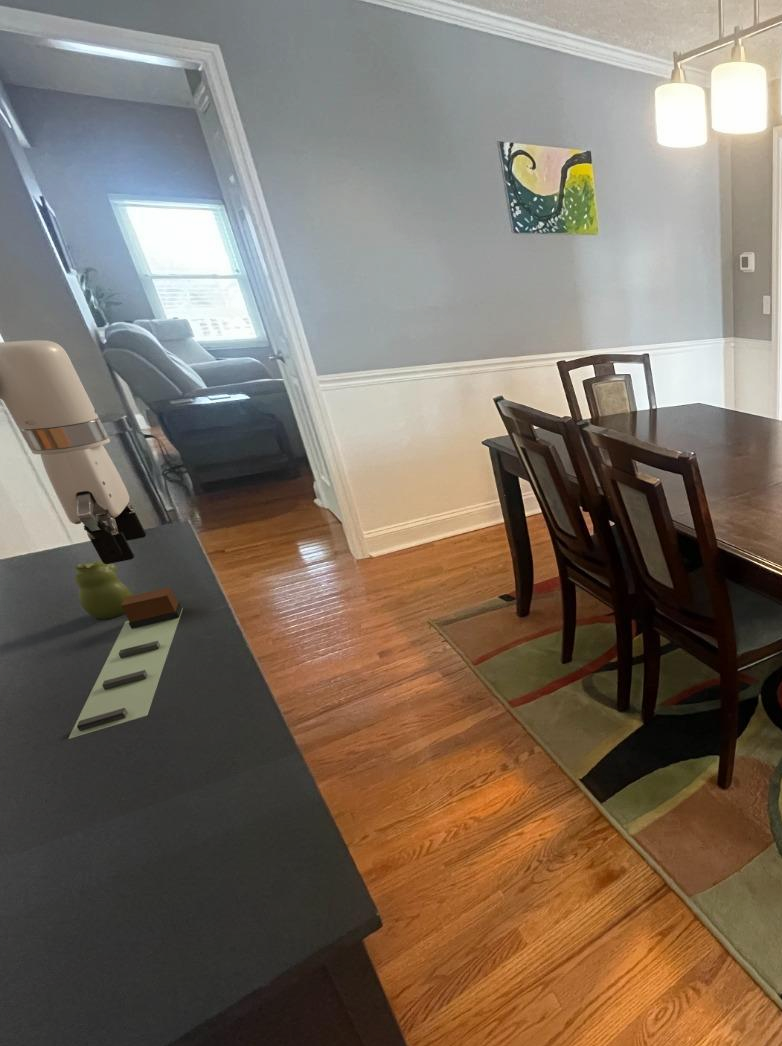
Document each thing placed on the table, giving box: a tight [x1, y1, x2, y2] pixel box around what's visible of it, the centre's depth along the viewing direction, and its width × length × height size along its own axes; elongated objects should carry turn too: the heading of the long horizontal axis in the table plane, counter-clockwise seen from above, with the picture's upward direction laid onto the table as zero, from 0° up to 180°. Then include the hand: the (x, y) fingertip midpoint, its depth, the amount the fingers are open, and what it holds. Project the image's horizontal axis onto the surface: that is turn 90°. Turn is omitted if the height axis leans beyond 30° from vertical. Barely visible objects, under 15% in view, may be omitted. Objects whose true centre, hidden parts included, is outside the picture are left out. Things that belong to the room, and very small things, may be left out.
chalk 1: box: [119, 641, 160, 658], centre depth 84 cm, size 4×1×1 cm, turn 125°
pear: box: [74, 559, 134, 620], centre depth 93 cm, size 6×5×10 cm
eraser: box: [121, 587, 183, 629], centre depth 92 cm, size 6×4×4 cm, turn 125°
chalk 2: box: [102, 670, 148, 690], centre depth 78 cm, size 4×1×1 cm, turn 125°
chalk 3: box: [77, 708, 128, 731], centre depth 71 cm, size 4×1×1 cm, turn 125°
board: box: [68, 607, 184, 740], centre depth 82 cm, size 7×32×1 cm, turn 35°
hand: (126, 549), depth 88 cm, fingers open, 9 cm apart
